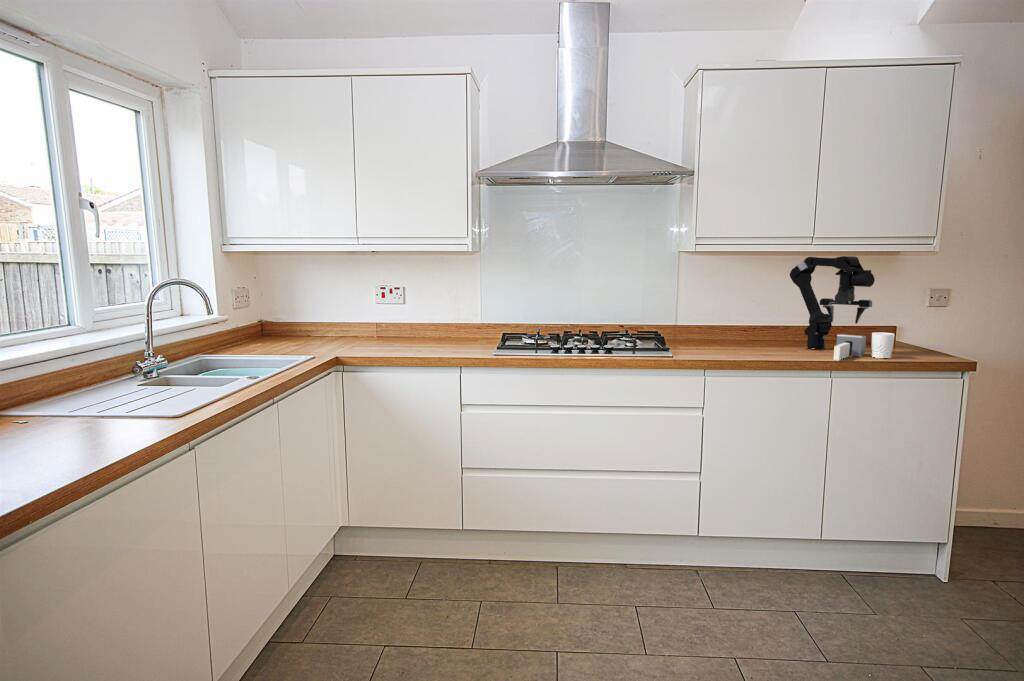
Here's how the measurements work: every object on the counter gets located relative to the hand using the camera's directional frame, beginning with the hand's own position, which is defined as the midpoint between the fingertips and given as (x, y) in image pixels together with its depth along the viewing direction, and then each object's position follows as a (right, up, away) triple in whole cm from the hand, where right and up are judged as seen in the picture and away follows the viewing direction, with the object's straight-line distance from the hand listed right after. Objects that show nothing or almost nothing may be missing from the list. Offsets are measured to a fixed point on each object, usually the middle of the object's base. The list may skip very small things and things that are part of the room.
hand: (843, 322), depth 247 cm
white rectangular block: (-9, -15, -13) cm, 22 cm away
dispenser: (+1, -14, -3) cm, 14 cm away
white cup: (+10, -15, -10) cm, 20 cm away
